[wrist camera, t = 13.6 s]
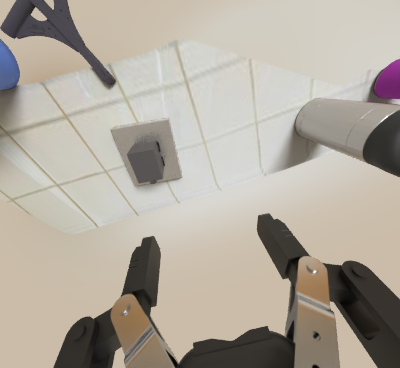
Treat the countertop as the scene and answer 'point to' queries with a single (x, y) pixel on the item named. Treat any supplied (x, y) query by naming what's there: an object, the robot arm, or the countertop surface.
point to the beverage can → (389, 82)
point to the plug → (146, 162)
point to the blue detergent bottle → (8, 68)
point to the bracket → (50, 28)
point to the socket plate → (145, 133)
